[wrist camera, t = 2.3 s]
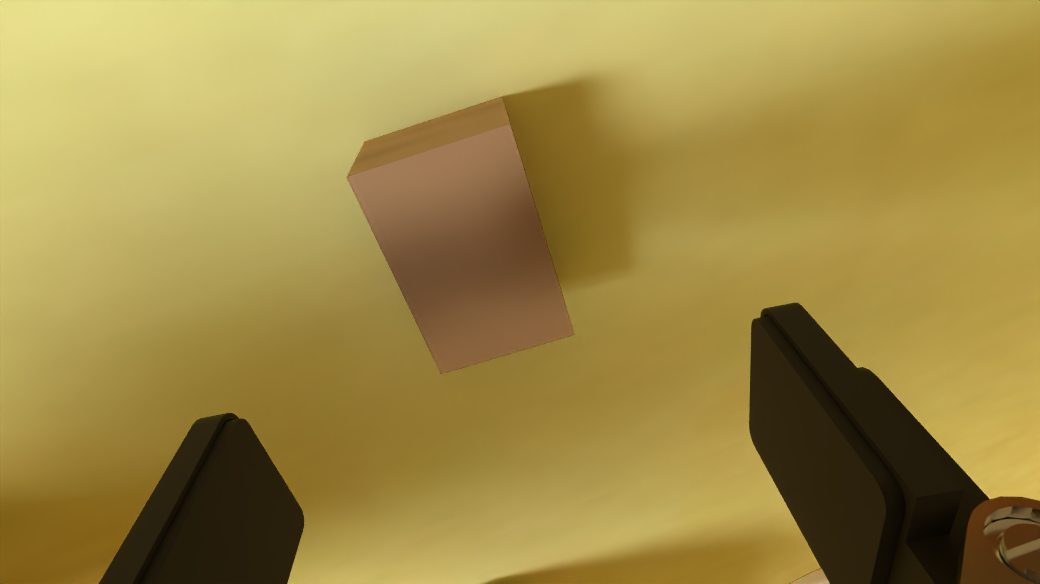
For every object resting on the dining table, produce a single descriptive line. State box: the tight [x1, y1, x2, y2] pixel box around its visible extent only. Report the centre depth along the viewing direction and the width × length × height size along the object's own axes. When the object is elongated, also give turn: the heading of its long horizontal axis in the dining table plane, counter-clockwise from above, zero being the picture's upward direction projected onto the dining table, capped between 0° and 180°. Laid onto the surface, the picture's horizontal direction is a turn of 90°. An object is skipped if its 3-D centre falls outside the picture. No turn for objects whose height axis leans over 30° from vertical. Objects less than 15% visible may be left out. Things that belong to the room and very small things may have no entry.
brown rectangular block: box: [347, 97, 574, 374], centre depth 18 cm, size 7×4×4 cm, turn 17°
